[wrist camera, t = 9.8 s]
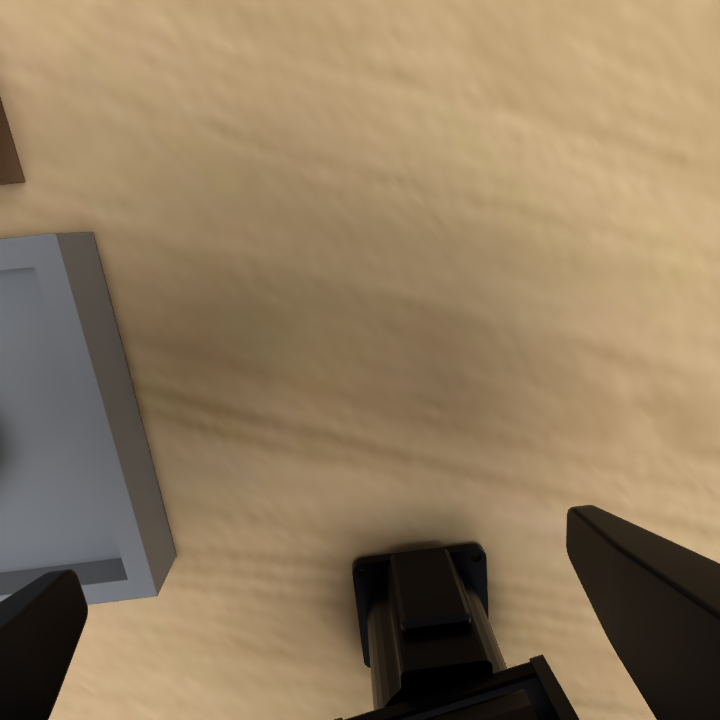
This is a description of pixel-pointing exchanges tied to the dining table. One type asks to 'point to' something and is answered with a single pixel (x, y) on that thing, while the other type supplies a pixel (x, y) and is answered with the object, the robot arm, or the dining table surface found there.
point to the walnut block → (8, 154)
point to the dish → (72, 430)
